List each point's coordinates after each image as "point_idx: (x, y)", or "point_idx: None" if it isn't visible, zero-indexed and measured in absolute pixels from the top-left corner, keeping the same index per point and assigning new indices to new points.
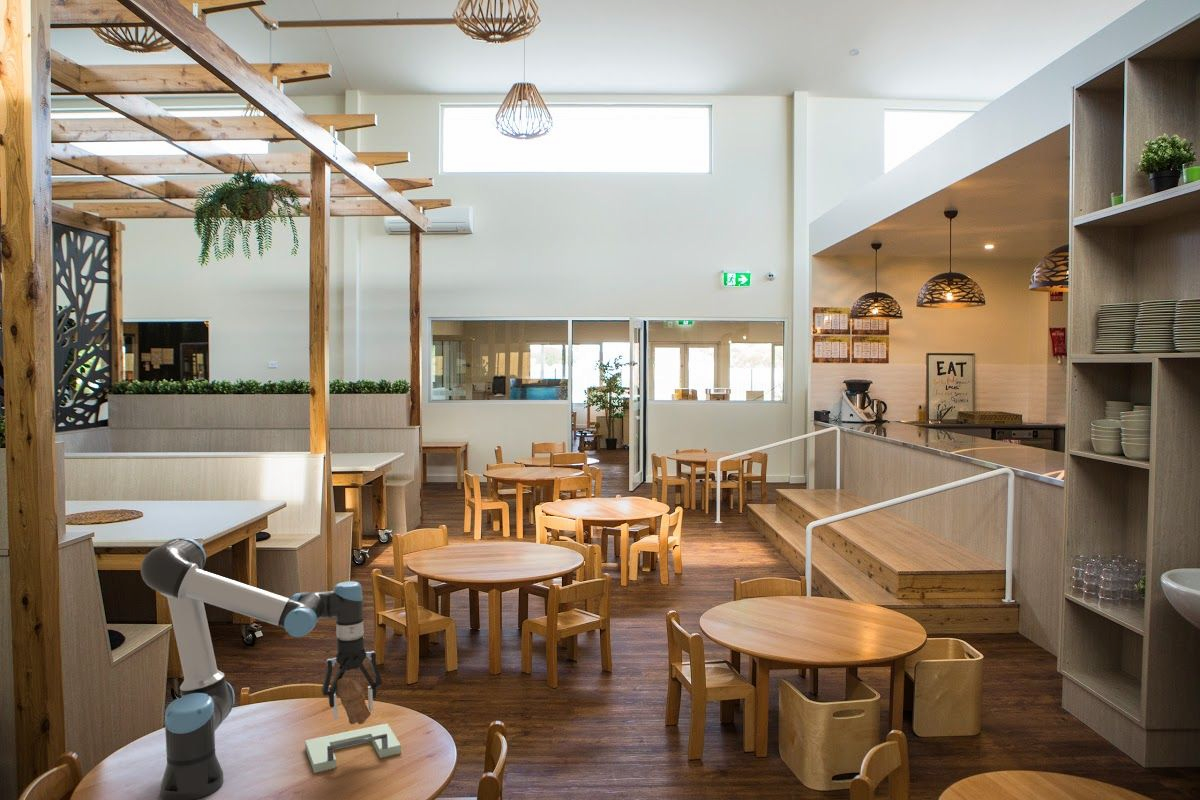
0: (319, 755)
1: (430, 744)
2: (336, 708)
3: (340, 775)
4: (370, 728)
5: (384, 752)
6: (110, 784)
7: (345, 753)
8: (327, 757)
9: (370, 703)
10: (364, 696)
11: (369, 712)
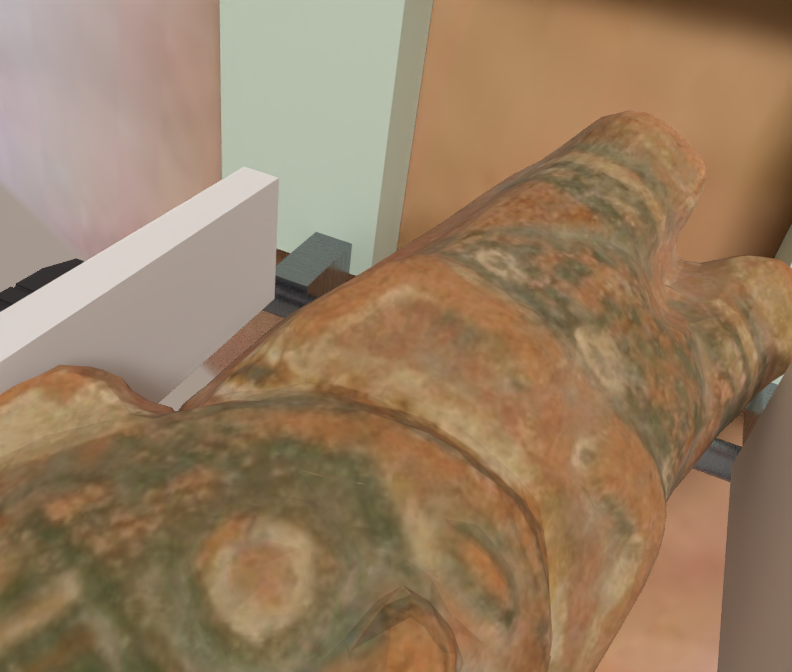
0: (278, 121)
1: None
2: (176, 372)
3: None
4: None
5: None
6: None
7: (546, 60)
8: (308, 240)
9: (729, 572)
10: (599, 651)
11: (755, 394)
